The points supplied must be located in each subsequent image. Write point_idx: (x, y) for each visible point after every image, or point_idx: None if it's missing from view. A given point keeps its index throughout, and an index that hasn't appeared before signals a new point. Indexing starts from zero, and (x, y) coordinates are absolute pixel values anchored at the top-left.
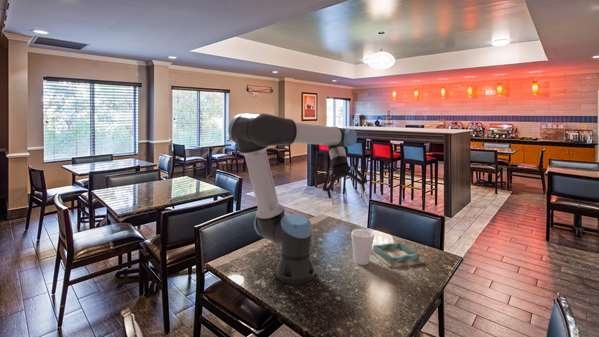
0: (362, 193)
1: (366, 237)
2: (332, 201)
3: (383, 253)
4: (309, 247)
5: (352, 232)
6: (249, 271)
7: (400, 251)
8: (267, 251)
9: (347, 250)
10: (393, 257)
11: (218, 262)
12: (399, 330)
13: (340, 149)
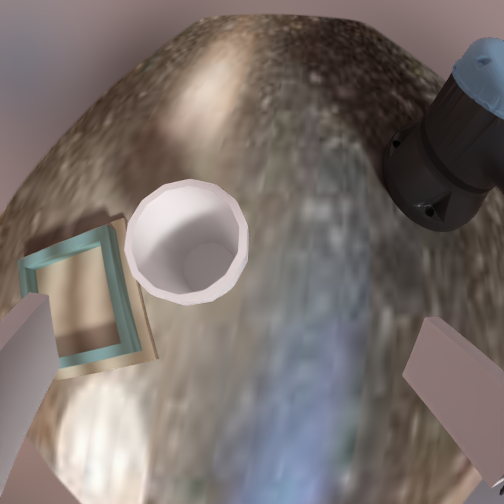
0: (11, 328)
1: (179, 182)
2: (454, 332)
3: (116, 275)
4: (434, 102)
5: (241, 247)
6: None
7: (54, 333)
8: None
9: (247, 376)
10: (96, 234)
11: None
12: (215, 17)
13: None
